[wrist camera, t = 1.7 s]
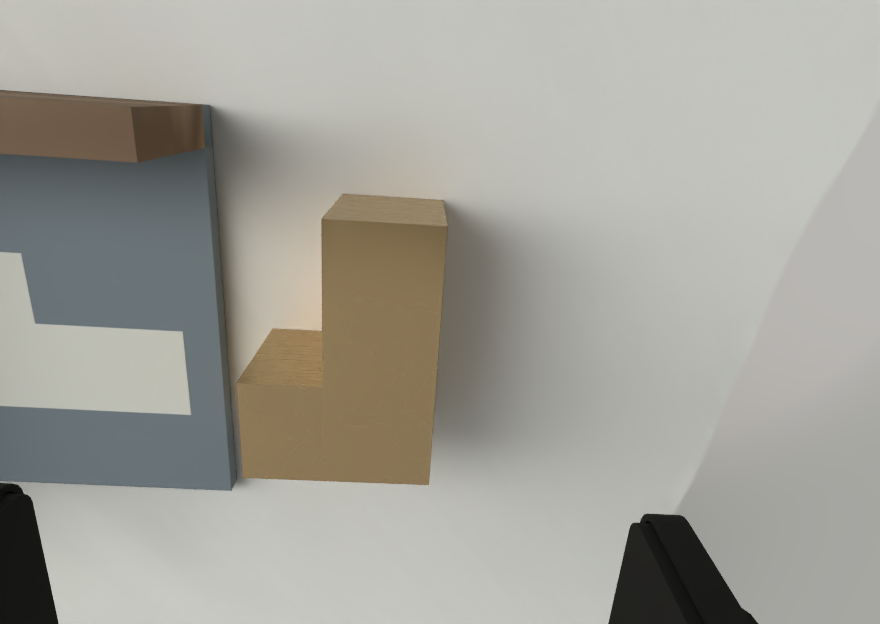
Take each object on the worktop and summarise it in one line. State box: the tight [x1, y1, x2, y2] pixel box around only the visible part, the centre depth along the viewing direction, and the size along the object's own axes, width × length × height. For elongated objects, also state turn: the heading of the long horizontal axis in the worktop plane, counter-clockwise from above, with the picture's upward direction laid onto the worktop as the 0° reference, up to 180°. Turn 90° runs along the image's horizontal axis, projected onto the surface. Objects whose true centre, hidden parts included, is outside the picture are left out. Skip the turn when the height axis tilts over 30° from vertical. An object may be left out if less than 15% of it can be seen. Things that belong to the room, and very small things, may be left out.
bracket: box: [237, 194, 448, 485], centre depth 22 cm, size 10×7×5 cm
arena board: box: [0, 105, 237, 491], centre depth 23 cm, size 17×16×1 cm
